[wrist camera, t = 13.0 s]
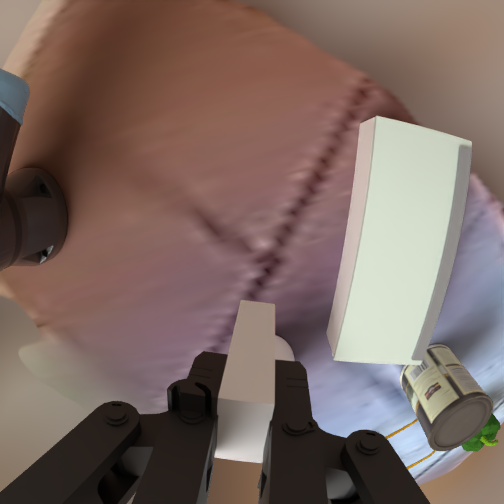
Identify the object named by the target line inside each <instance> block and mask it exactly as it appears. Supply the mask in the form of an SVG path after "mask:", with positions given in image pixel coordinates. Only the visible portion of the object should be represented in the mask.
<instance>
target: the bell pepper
mask: <svg viewBox="0 0 504 504" xmlns="http://www.w3.org/2000/svg"><path fill="white" fill-rule="evenodd" d="M499 429H500V423H499V421H498V420H497V419H496V417H495V416H494V415H493V414H492V413H491V416H490V418H489V420H488V421H487V423H486V424H485V426H484V427H483V428H482V429H481V430H480V431H479V432H478V433H477V434H476V435H475V436H474V437H473V438H472V439H470V440H469V441H467V442H466V443H464V444H462V447H463V449H464V450H466V451H479V450H480V449H481V448H482V447H483V446H484V444H486V445H487V446H494V445H496V444H497V443H498V440H495V441H493V442H491V441H492V440H494V439H495V437H496V434H497V431H498V430H499Z"/></svg>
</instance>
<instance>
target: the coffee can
mask: <svg viewBox="0 0 504 504" xmlns="http://www.w3.org/2000/svg"><path fill="white" fill-rule="evenodd" d="M400 384H401V387H402V389H403V390H404V392H405V394H406V396H407V398H408V399H409V402H410V404H411V406H412V408H413V410H414V412H415V414H416V416H417V418H418V420H419V422H420V424H421V426H422V428H423V430H424V432H425V434H426V437H427V439H428V443H429V445H430V447H431V448H432V449H433V450H436V451H447V450H451V449H454V448H457V447H459V446H461V445H462V444H464V443H466V442H467V441H469V440H470V439H472V438H473V437H474V436H475V435H476V434H477V433H478V432H479V431H480V430H481V429H482V428H483V427H484V426H485V424H486V423H487V421H488V420H489V418H490V416H491V413H492V410H493V402H492V400H491V398H490V397H489V396H488V395H486V394H485V392H484V391H483V390H482V389H481V387H480V386H479V385H478V383H477V382H476V381H475V380H474V378H473V377H472V376H471V375H470V373H469V372H468V371H467V370H466V369H465V367H464V366H463V365H462V364H461V362H460V361H459V360H458V359H457V358H456V356H455V355H454V354H453V353H452V351H451V350H450V348H448V347H447V346H445V345H441V344H435V345H430V346H428V349H427V351H426V354H425V357H424V359H423V361H422V363H421V365H404V367H403V369H402V372H401V375H400Z"/></svg>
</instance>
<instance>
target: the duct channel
mask: <svg viewBox="0 0 504 504" xmlns="http://www.w3.org/2000/svg"><path fill="white" fill-rule="evenodd" d="M374 120H375V117H374V118H371V119H369V120H367V121H365V122H362V123H360V129H359V139H358V148H357V157H356V166H355V174H354V182H353V189H352V197H351V204H350V211H349V217H348V224H347V230H346V236H345V242H344V248H343V253H342V259H341V264H340V270H339V275H338V280H337V285H336V290H335V295H334V300H333V305H332V310H331V314H330V319H329V323H328V328H327V332H326V334H327V337H328V341H329V344H330V348H331V351H332V355H334V351H335V347H336V344H337V340H338V336H339V332H340V328H341V323H342V319H343V315H344V311H345V306H346V302H347V297H348V293H349V288H350V283H351V278H352V273H353V268H354V263H355V258H356V253H357V247H358V242H359V236H360V230H361V224H362V218H363V212H364V205H365V198H366V191H367V184H368V176H369V168H370V160H371V151H372V141H373V131H374Z"/></svg>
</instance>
